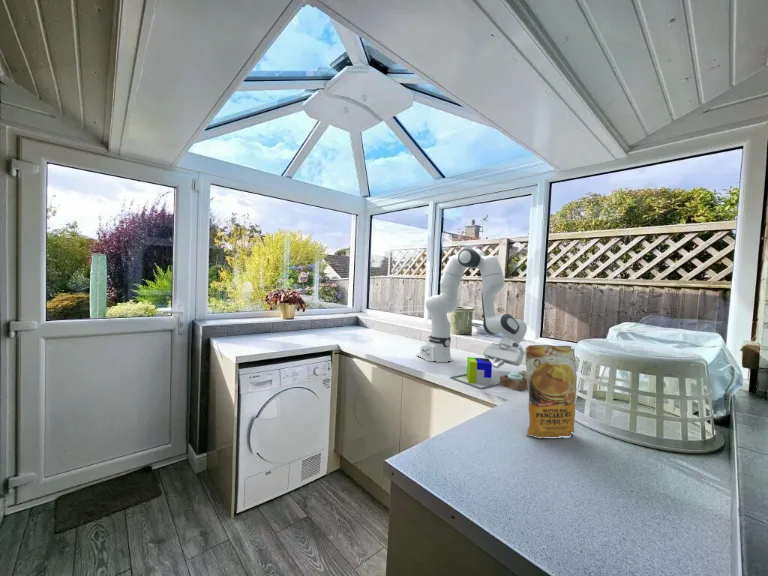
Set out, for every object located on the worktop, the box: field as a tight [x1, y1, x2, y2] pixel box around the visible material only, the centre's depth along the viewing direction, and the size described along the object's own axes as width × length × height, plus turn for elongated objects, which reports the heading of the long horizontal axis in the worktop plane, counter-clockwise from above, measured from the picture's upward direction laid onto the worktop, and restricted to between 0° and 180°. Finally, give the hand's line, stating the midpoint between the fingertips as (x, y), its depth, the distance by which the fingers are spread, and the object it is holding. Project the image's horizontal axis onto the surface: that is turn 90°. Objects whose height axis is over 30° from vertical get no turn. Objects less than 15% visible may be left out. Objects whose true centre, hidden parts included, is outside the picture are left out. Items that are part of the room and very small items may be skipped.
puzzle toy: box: [466, 356, 493, 386], centre depth 154 cm, size 10×10×10 cm
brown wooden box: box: [498, 370, 528, 392], centre depth 150 cm, size 10×16×6 cm, turn 126°
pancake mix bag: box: [524, 344, 578, 438], centre depth 101 cm, size 7×19×28 cm, turn 98°
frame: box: [449, 372, 501, 391], centre depth 154 cm, size 19×17×1 cm
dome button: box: [507, 371, 523, 381], centre depth 148 cm, size 6×6×3 cm
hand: (495, 367), depth 161 cm, fingers closed
